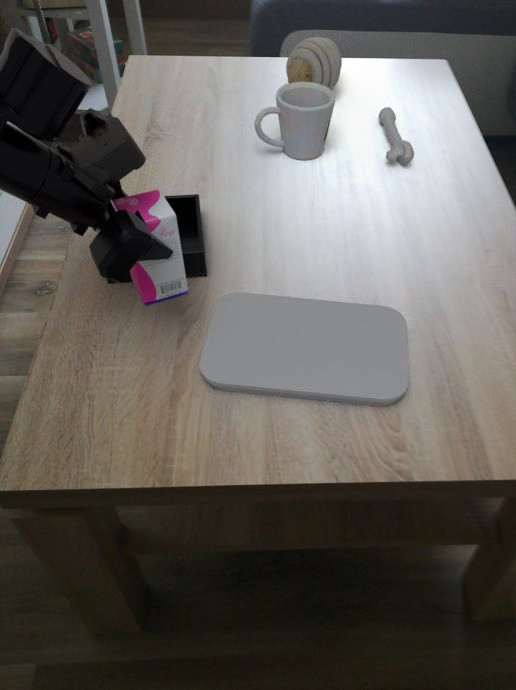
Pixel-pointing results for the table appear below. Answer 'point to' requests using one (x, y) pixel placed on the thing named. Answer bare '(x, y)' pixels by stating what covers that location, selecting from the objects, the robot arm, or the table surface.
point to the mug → (300, 119)
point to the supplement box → (165, 274)
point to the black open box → (187, 235)
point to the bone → (395, 139)
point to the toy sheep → (315, 62)
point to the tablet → (306, 349)
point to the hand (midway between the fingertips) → (162, 240)
